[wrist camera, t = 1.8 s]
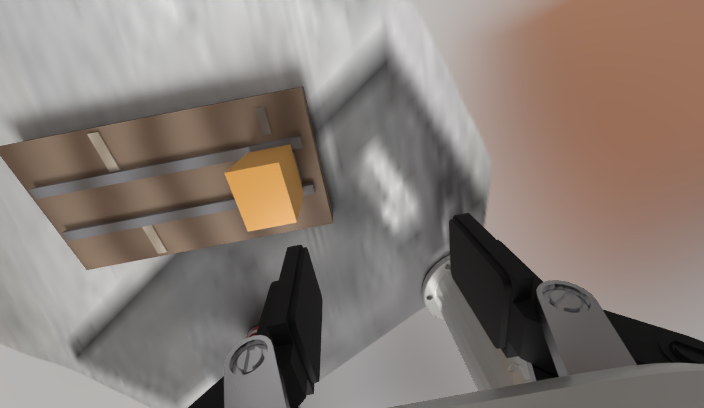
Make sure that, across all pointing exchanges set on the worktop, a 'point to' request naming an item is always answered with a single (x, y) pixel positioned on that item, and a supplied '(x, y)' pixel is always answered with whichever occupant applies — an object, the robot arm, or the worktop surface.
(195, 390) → the worktop surface
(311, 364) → the robot arm
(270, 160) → the fader tab
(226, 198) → the board
